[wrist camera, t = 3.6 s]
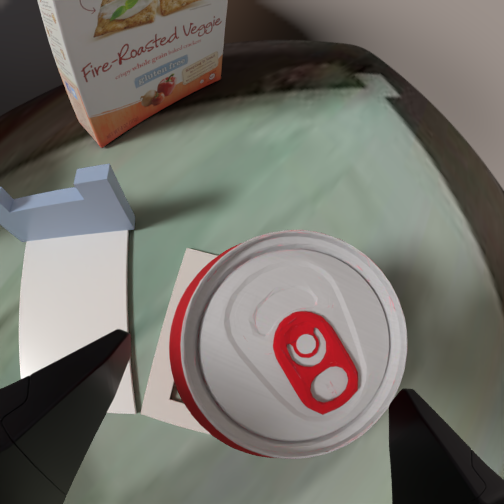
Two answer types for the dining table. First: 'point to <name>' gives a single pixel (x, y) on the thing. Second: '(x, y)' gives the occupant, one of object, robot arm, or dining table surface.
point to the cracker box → (132, 56)
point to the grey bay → (161, 374)
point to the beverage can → (288, 345)
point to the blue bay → (72, 270)
